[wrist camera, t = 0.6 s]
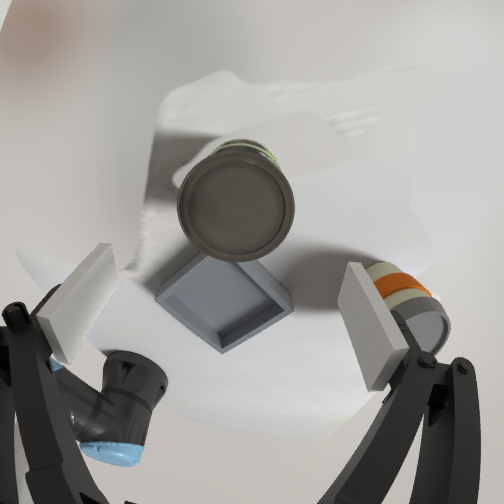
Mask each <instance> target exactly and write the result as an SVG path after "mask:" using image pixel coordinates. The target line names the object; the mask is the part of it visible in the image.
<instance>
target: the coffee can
mask: <svg viewBox="0 0 504 504" xmlns="http://www.w3.org/2000/svg"><path fill="white" fill-rule="evenodd" d="M294 212H295V203H294V197H293V192H292V190H291V187H290V185H289V183H288V181H287V179H286V177H285V176H284V175H283V173H282V171H281V169H280V167H279V164H278V161H277V159H276V157H275V156H274V155H273V153H272V152H271V151H270V150H269V149H268V148H267V147H265V146H264V145H262V144H261V143H259V142H256V141H253V140H249V139H235V140H232V141H228V142H225V143H224V144H222V145H220V146H219V147H218V148H216V149H215V150H214V151H213V152H212V154H210V155H209V156H208V157H207V158H205V159H204V160H202V161H201V162H200V163H198V164H197V165H195V166H194V167H193V168H192V169H191V171H190V172H189V173H188V174H187V176H186V177H185V179H184V181H183V182H182V185H181V187H180V190H179V194H178V199H177V213H178V218H179V222H180V225H181V227H182V230H183V232H184V233H185V235H186V237H187V238H188V239H189V241H190V242H191V243H192V244H193V245H194V246H195V247H196V248H197V249H199V250H200V251H201V252H203V253H204V254H206V255H208V256H210V257H212V258H215V259H218V260H221V261H226V262H235V263H239V262H248V261H253V260H256V259H259V258H261V257H263V256H265V255H267V254H269V253H270V252H272V251H273V250H274V249H276V248H277V247H278V246H279V245H280V244H281V243H282V242H283V240H284V239H285V238H286V236H287V234H288V233H289V230H290V228H291V226H292V223H293V219H294Z"/></svg>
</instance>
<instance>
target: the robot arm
mask: <svg viewBox="0 0 504 504" xmlns="http://www.w3.org/2000/svg"><path fill="white" fill-rule="evenodd" d="M117 286H118V279H117V274H116V268H115V262H114V256H113V250H112V244H107V243H100V244H99V245H98V246H97V247H96V248H95V249H94V250H93V251H92V252H91V253H90V254H89V255H88V256H87V257H86V258H85V259H84V260H83V261H82V263H81V264H80V265H79V266H78V267H77V268H76V269H75V270H74V271H73V272H72V273H71V274H70V276H69V277H68V278H67V279H66V280H65V281H64V282H63V283H62V284H58V285H57V286H55V287H54V288H52V289H51V290H50V291H49V292H48V294H47V295H46V296H45V297H44V298H43V299H42V301H41V302H40V303H39V304H38V305H37V306H36V308H35V309H34V310H33V311H32V313H31V314H30V315H29V313H28V311H27V309H26V306H25V304H24V303H22V302H14V303H11V304H9V305H8V306H7V307H5V309H4V310H3V312H2V317H3V319H4V321H5V323H6V325H7V326H2V327H1V326H0V504H109V502H108V501H107V499H106V498H105V496H104V495H103V494H102V492H101V491H100V490H99V489H98V487H97V486H96V484H95V482H94V480H93V478H92V476H91V474H90V472H89V470H88V468H87V466H86V463H85V461H84V459H83V457H82V454H81V452H80V450H81V451H82V452H83V453H85V454H86V455H87V456H89V457H91V458H93V459H96V460H98V461H101V462H104V463H108V464H112V465H116V466H123V467H131V466H135V465H137V464H138V462H139V461H140V458H141V455H142V452H143V450H144V444H145V440H146V436H147V431H148V427H149V423H150V419H151V415H152V411H153V409H154V408H155V406H156V405H157V403H158V402H159V401H160V400H161V398H162V397H163V396H164V394H165V392H166V390H167V386H168V378H167V376H166V374H165V372H164V371H163V370H162V369H161V368H160V367H159V366H158V365H157V364H155V363H154V362H152V361H151V360H149V359H147V358H145V357H143V356H141V355H138V354H135V353H131V352H124V351H119V352H114V353H112V354H110V355H109V356H108V357H107V359H106V361H105V364H104V367H103V383H102V390H101V393H100V392H98V391H97V390H95V389H94V388H92V387H91V386H89V385H88V384H86V383H85V382H84V381H82V380H81V379H79V378H78V377H77V376H75V375H74V374H72V373H71V372H70V371H69V370H67V369H66V368H65V367H64V366H63V365H60V364H59V363H58V362H62V363H65V364H68V365H70V364H71V362H72V360H73V358H74V356H75V355H76V353H77V351H78V349H79V348H80V346H81V344H82V343H83V341H84V339H85V337H86V336H87V334H88V332H89V331H90V329H91V327H92V326H93V324H94V322H95V321H96V319H97V318H98V316H99V314H100V313H101V311H102V310H103V308H104V306H105V305H106V303H107V302H108V300H109V299H110V297H111V295H112V294H113V292H114V291H115V289H116V288H117ZM337 304H338V307H339V309H340V312H341V315H342V317H343V320H344V323H345V325H346V328H347V331H348V334H349V337H350V339H351V342H352V345H353V348H354V351H355V354H356V357H357V360H358V362H359V365H360V368H361V371H362V374H363V378H364V381H365V384H366V387H367V390H368V392H376V391H383V390H384V389H385V387H386V386H387V384H388V383H389V384H390V387H391V390H390V392H389V393H388V395H387V396H386V397H385V399H384V400H383V402H382V403H383V405H382V407H381V408H380V410H379V412H378V414H377V416H376V418H375V419H374V421H373V423H372V425H371V426H370V428H369V430H368V432H367V433H366V435H365V437H364V438H363V440H362V441H361V443H360V445H359V446H358V448H357V449H356V451H355V452H354V454H353V455H352V457H351V458H350V460H349V461H348V463H347V464H346V466H345V467H344V469H343V470H342V472H341V473H340V474H339V476H338V477H337V479H336V480H335V481H334V483H333V484H332V485H331V486H330V488H329V489H328V490H327V492H326V493H325V495H323V497H322V498H321V499H320V500H319V502H318V503H317V504H381V503H382V501H383V500H384V498H385V496H386V494H387V493H388V491H389V489H390V487H391V485H392V484H393V482H394V480H395V478H396V476H397V474H398V472H399V470H400V468H401V466H402V464H403V462H404V460H405V458H406V456H407V454H408V451H409V449H410V447H411V445H412V442H413V440H414V437H415V435H416V432H417V430H418V428H419V425H420V422H421V420H422V417H423V414H424V420H423V430H422V438H421V447H420V453H419V459H418V465H417V471H416V476H415V481H414V485H413V490H412V494H411V498H410V502H409V504H477V500H478V490H479V480H480V463H481V431H480V411H479V400H478V390H477V382H476V374H475V370H474V366H473V365H472V363H471V362H470V361H468V360H467V359H465V358H463V357H457V358H455V359H454V360H453V362H452V363H451V364H450V365H448V364H442V363H438V362H437V360H436V358H435V357H434V356H433V355H432V354H430V353H429V352H426V351H422V350H421V348H420V346H419V344H418V343H417V341H416V339H415V337H414V335H413V334H412V332H411V331H410V328H409V327H408V325H407V323H406V322H405V320H404V318H403V317H402V316H401V315H400V314H399V313H398V312H397V311H396V310H389V309H388V307H387V306H386V304H385V302H384V300H383V299H382V297H381V295H380V294H379V292H378V290H377V288H376V287H375V285H374V283H373V282H372V280H371V279H370V277H369V275H368V274H367V272H366V270H365V269H364V267H363V266H362V264H361V262H348V264H347V268H346V271H345V275H344V279H343V282H342V286H341V289H340V293H339V296H338V300H337ZM52 353H53V354H54V356H55V358H56V360H57V361H58V362H56V361H55V360H54V359H52V358H51V357H50V356H51V354H52ZM15 412H16V416H17V421H16V424H15ZM14 425H15V426H14ZM75 439H76V440H77V441H79V442H80V445H79V446H80V450H79V447H78V445H77V443H76V440H75ZM124 504H135V503H132V502H128V501H125V503H124Z"/></svg>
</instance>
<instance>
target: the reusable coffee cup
mask: <svg viewBox="0 0 504 504" xmlns="http://www.w3.org/2000/svg"><path fill="white" fill-rule="evenodd" d="M365 270H366V272H367V274H368V275H369V277H370V279H371V280H372V282H373V283H374V285H375V287H376V288H377V290H378V292H379V294H380V295H381V297H382V299H383V300H384V302H385V304H386V306H387V307H388V309H389V310H396V311H397V312H398V313H399V314H400V315H401V316H402V317H403V318H404V320H405V322H406V323H407V325H408V327H409V328H410V331H411V332H412V334H413V335H414V337H415V339H416V341H417V343H418V344H419V346H420V348H421V350H422V351H426V352H429V353H430V354H432V355H433V356H434V357H435V356H436V355H437V354H438V352H439V351H440V350H441V349H442V347H443V346H444V344H445V343H446V341H447V339H448V337H449V334H450V329H451V324H450V320H449V318H448V316H447V314H446V313H445V310H444V309H443V307H442V305H441V304H440V303H439V301H438V300H436V299H434V298H432V296H431V294H430V293H429V291H428V290H427V289H426V288H424V287H423V286H422V285H421V284H420V283H419V282H418V281H417V280H416V279H414V278H413V277H412V276H410V275H409V274H406V273H404V272H402V271H401V270H400V269H399V268H398V267H397V266H396V265H394V264H392V263H389V262H379V263H376V264H373V265H371V266H369V267H368V268H367V269H365Z"/></svg>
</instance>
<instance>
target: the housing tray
mask: <svg viewBox="0 0 504 504" xmlns="http://www.w3.org/2000/svg"><path fill="white" fill-rule="evenodd" d="M154 300H155V301H156V302H157V303H158V304H160V305H161V306H162V307H163V308H164V309H165V310H167V311H168V312H169V313H170V314H171V315H173V316H174V317H175V318H176V319H177V320H179V321H180V322H181V323H182V324H184V325H185V326H186V327H187V328H189V329H190V330H191V331H192V332H194V333H195V334H196V335H197V336H199V337H200V338H201V339H202V340H204V341H205V342H206V343H208V344H209V345H210V346H212V347H213V348H214V349H216V350H217V351H218V352H220V353H221V354H224V353H225V352H227V351H229V350H231V349H232V348H234V347H236V346H238V345H239V344H241V343H243V342H244V341H246V340H248V339H249V338H251V337H253V336H255V335H256V334H258V333H260V332H261V331H263V330H264V329H266V328H268V327H269V326H271V325H273V324H274V323H276V322H278V321H279V320H281V319H282V318H284V317H286V316H287V315H289V314H290V313H292V312H293V311H294V307H293V302H292V296H291V295H290V294H289V293H288V292H287V290H286V289H285V288H284V287H283V286H282V285H281V284H280V283H279V282H278V281H277V280H276V279H275V278H274V277H273V276H272V275H271V274H270V273H269V272H268V271H267V270H266V269H265V268H264V267H263V266H262V265H261V263H260V262H259V261H258V260H257V259H256V260H253V261H248V262H239V263H235V262H226V261H221V260H218V259H215V258H212V257H210V256H208V255H206V254H204V253H203V252H200V253H199V254H198V255H196V256H195V257H194V258H193V259H192V260H190V261H189V262H188V263H187V264H186V265H184V266H183V267H182V268H181V269H180V270H179V271H177V272H176V273H175V274H174V275H173V276H171V277H170V278H169V279H168V280H167V281H166V282H164V283H163V284H162V285H161V287H160V289H159V291H158V293H157V295H156V297H155V299H154Z"/></svg>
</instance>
